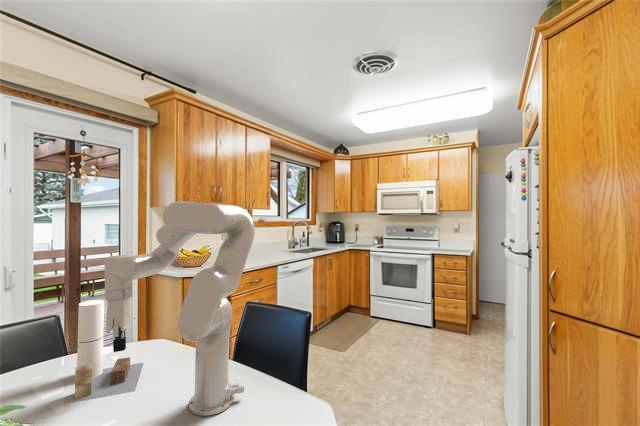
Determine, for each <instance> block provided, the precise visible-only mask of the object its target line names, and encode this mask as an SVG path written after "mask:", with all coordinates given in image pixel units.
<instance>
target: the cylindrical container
mask: <svg viewBox="0 0 640 426" xmlns="http://www.w3.org/2000/svg"><path fill="white" fill-rule="evenodd" d="M77 316H78V319H77V321H78V322H77V349H76V350H77V352H76V353H77V355H76V358H77V359H76V367H80V366H84V365H88V364H92V378H95V377H97V376H99V375H100V374H102V371H103V369H104V367H103V363H104V361H103V359H104V322H105V321H104V320H105V299H93V300H92V299H91V300H90V299H89V300H86V301H82V302H79V303H78V315H77Z"/></svg>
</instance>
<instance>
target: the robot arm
mask: <svg viewBox="0 0 640 426" xmlns="http://www.w3.org/2000/svg"><path fill="white" fill-rule="evenodd" d="M161 218H162V222H163V225H161V226H160V228H158V229H157V231H156V233H155V237H156V240H157V242H158V243H159V245H158V247H156V248H155V249H154V250H153V251H151V252H149V253H148V252H147V253H141V254H137V255H127V254H121V255H120V254H119V255H110V256H108V257H106V258H105V260H104V302H105V301H106V302H107V305H106V318H105V319H106V320H105V325H106V326H105V333H107V334H109V333H111V331H112V337H113V338H112V348H113V350H112V351H113V353H116V352H122V351H125V350H126V348H127V336H126V329H127V326H128V325H129V323H130V298H132V297H133V281H135V280H138V279H144V278H146V277H150V276H151V277H152V276H155V275H157V274H159V273H161V272H163V271H164V270H165V269H166V268H168V266H169V265H171V264H172V263H173V262H174V261H175V260H176V258H177V257H178V254H179V253H180V249H181V247H183V246H184V245H185V244H186V243H188V241H189V240H190V239H192V238H193V237H194V236H195V235H196V234H203V235H204V234H205V235H221V234H227V235H226V237H225V239H224V241H223V242H222V244H221V245H220V247H219V250H218V252H217V256H216V259H215V260H214V264H213V265H212V266H211V267H208V268H205V269H202V270H200V271H199V272H198V273H196V274H195V275H194V276H193V277H192V278H191V281H190V282H189V285H188V288H187V291H186V293H185V298H184V300H183V303H182V305H181V309H180V312H179V315H178V318H177V319H178V321H177V328H178V329H177V330H178V332H179V334H180V336H181V337H182V338H183V339H184V340H185V341H187V342H195V358H194V359H195V360H194V362H195V365H194V395H193V396H192V397H190V400H189V402H188V409H189V411H190V412H191V413H192V414H194V415H196V416H199V417H204V416H205V417H206V416H208V417H209V416H213V415H217V414H220V413H222V412H224V411H225V410H227V409H228V408H229V407H230V406H231V405H232V404H233V401H234V395H236V394H237V395H238V394H243V393H245V386H244V385H239V382H236V383H234V384H233V383H232V384H231V383H230V381H229V366H230V365H229V361H230V335H231V327H232V321H233V314H234V313H233V305H232V304H231V302H230V301H229V299H227V297H229V296H231V295H232V294H234V293H235V292H236V290H237V289H238V287H239V284H240V282H241V278H242V275H243V272H244V270H245V265H246V262H247V260H248V257H249V253H250V251H251V248H252V246H253V243H254V238H255V234H256V233H255V230H256V229H255V223H254V221H253V220H254V219H252V217H251V214H249V212H248V211H247V210H245V209H244V208H243V207H240V206H239V205H233V204H226V203H225V204H224V203H211V202H210V203H209V202H208V203H207V202H196V201H195V202H193V201H184V200H183V201H182V200H177V201H173V202H170V203H169V204H168V205H167V206H166V207H165V208H164V210H163V212H162V217H161Z"/></svg>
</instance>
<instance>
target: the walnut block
mask: <svg viewBox="0 0 640 426" xmlns="http://www.w3.org/2000/svg"><path fill="white" fill-rule="evenodd" d="M130 365H131V357H130V356H129V357H122V358H117V359H116V361H115V363H114V364H113V369H112V371H111V378H110V385H111V384H117V383H123V382H125V380H126V377H127V375H128V372H129V370H130Z"/></svg>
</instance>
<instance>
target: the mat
mask: <svg viewBox="0 0 640 426" xmlns="http://www.w3.org/2000/svg"><path fill="white" fill-rule="evenodd" d="M143 366H144V362H140V363H139V362H138V363H133V364H130V370H129V372H128V375H127V377H126V380H125V382H123V383H117V384H111V385H110V378H111V371H112V369H113V367H114V366H113V367H107V368H103V371H102V374H100V375H99V376H97V377H95V378H92V386H91V395H89V396H85V397H82V398H78V399H75V398H74V399H73V401H72V403H77V402H83V401H88V400H93V399H100V398H105V397H110V396H111V397H112V396H116V395H120V394H121V395H122V394H126V393H132V392H135V391H136V388H137V386H138V382H139V379H140V376H141V373H142V369H143Z"/></svg>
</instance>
